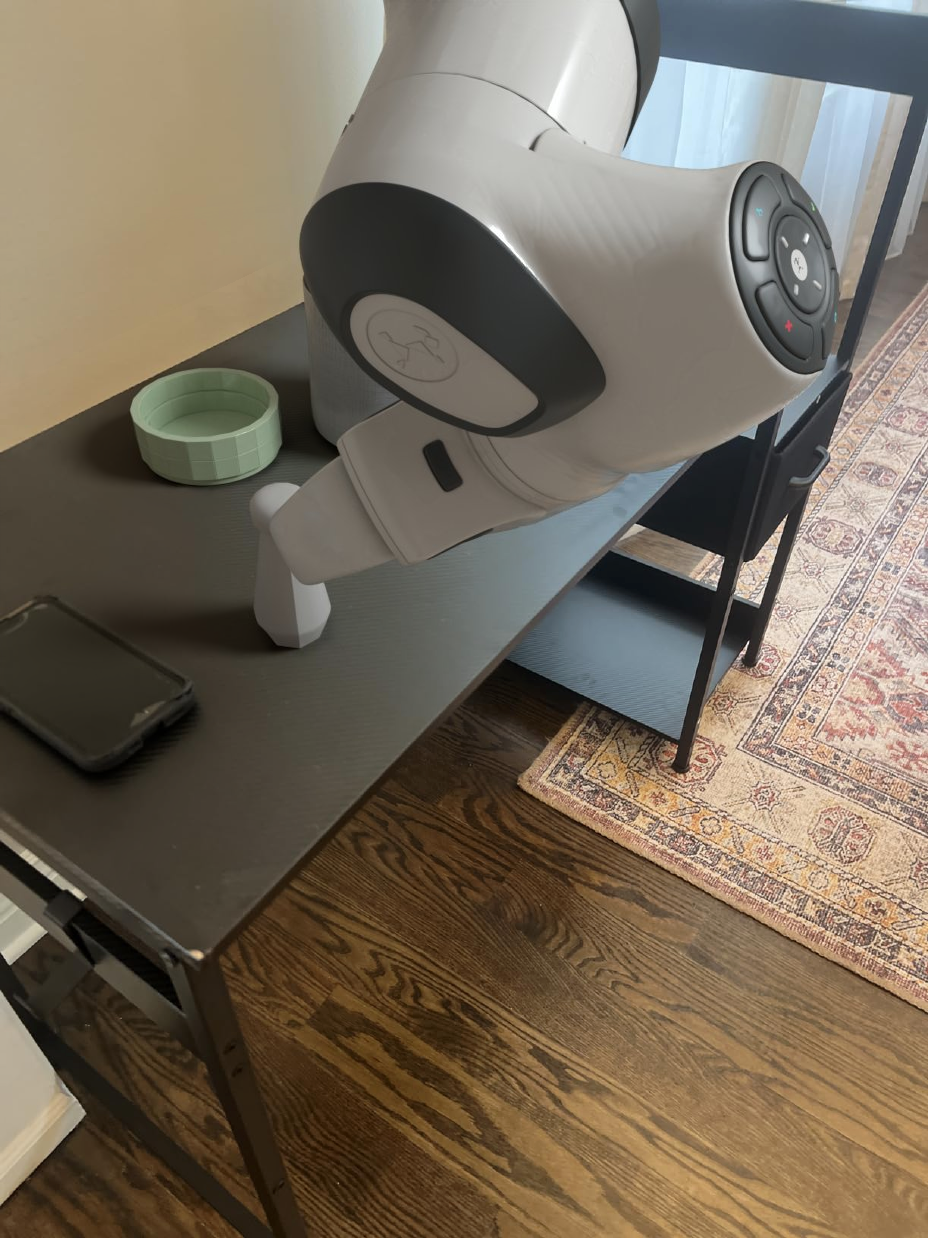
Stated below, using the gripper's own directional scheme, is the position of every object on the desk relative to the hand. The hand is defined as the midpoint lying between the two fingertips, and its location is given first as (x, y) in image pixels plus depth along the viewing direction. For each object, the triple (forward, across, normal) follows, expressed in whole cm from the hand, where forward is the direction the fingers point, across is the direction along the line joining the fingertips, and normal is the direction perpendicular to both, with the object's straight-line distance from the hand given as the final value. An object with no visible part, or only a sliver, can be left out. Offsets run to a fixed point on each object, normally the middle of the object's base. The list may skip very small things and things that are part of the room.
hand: (388, 504), depth 55 cm
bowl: (+40, -9, -14) cm, 43 cm away
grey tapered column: (+21, 0, +5) cm, 22 cm away
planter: (+34, -25, -8) cm, 43 cm away
